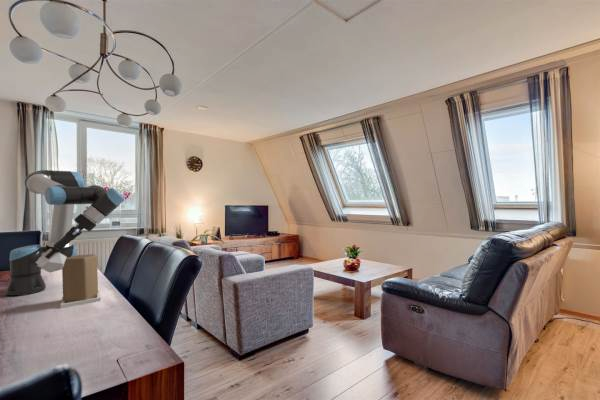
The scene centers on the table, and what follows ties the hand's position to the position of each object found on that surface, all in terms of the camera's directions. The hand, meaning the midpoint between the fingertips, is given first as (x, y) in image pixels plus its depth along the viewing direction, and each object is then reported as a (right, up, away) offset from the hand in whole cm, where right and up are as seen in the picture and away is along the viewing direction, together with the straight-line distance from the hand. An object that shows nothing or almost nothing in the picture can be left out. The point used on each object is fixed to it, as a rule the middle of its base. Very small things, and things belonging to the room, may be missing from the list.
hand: (40, 262), depth 117 cm
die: (+3, -4, +3) cm, 6 cm away
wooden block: (+1, -22, +21) cm, 30 cm away
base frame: (+1, -22, +21) cm, 30 cm away
